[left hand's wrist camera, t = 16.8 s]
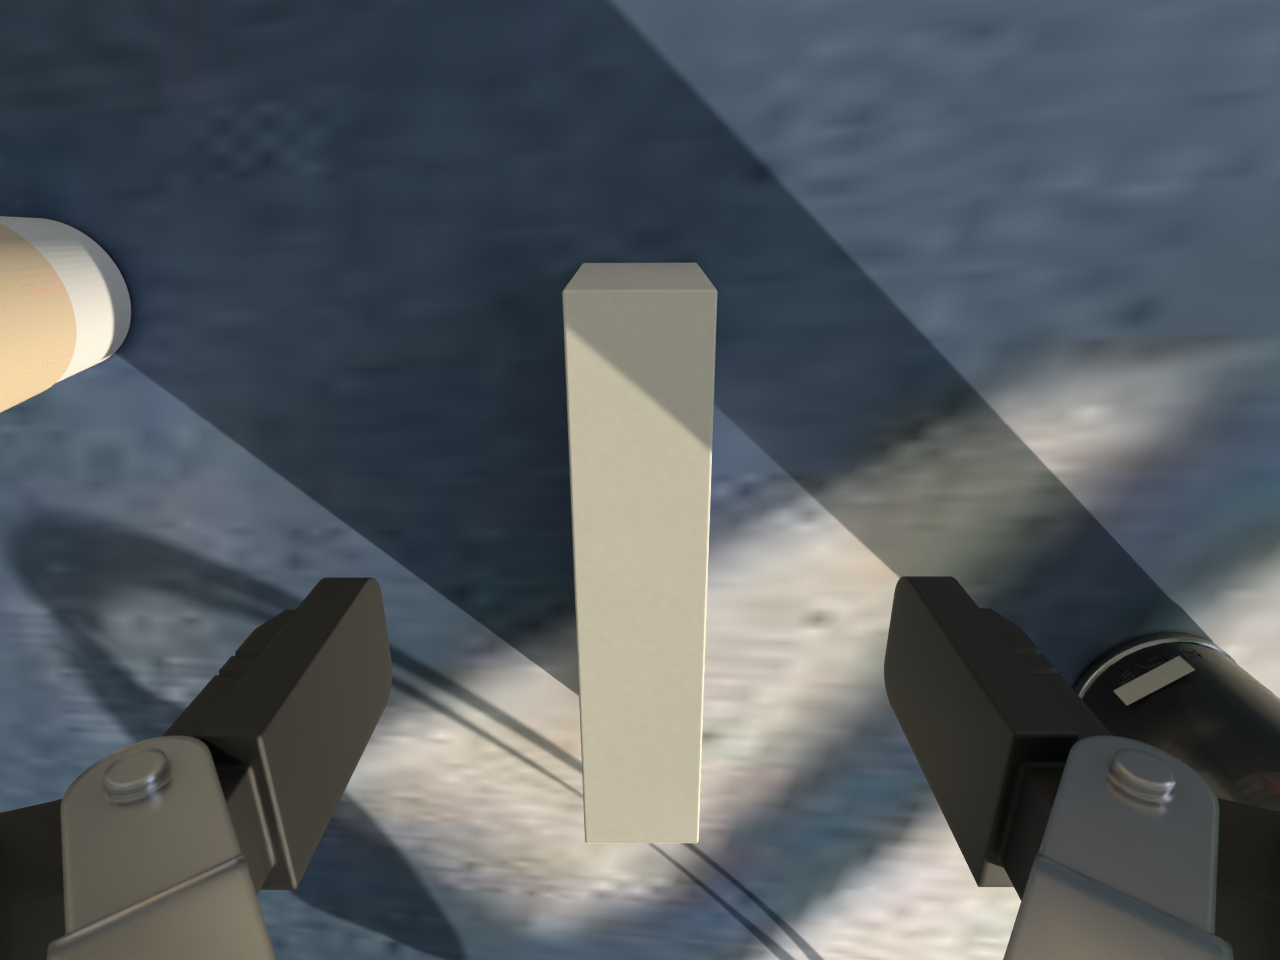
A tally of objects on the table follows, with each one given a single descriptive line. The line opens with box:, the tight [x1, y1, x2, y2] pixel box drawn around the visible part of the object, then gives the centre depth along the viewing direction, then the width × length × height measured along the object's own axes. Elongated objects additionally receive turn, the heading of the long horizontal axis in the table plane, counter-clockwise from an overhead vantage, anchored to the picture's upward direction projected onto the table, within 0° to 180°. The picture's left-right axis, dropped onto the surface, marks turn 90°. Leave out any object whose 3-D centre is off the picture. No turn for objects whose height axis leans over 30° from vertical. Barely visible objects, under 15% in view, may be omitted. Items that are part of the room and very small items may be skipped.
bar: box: [562, 263, 717, 843], centre depth 34 cm, size 25×5×9 cm, turn 0°
